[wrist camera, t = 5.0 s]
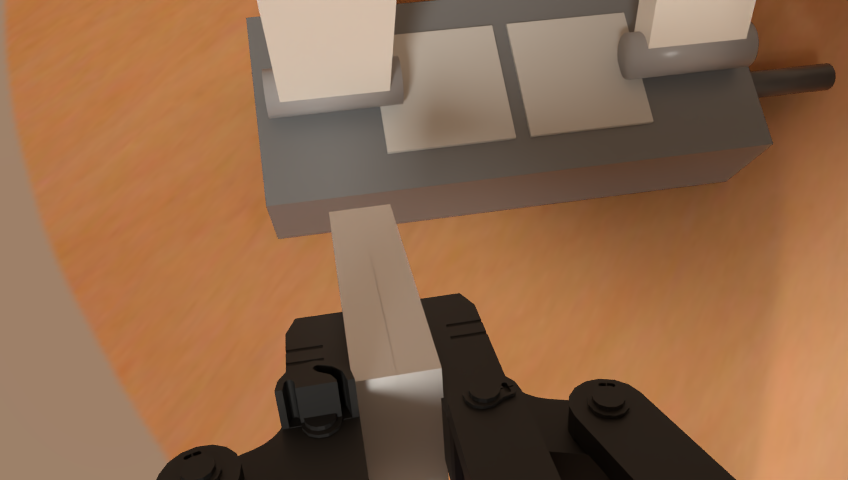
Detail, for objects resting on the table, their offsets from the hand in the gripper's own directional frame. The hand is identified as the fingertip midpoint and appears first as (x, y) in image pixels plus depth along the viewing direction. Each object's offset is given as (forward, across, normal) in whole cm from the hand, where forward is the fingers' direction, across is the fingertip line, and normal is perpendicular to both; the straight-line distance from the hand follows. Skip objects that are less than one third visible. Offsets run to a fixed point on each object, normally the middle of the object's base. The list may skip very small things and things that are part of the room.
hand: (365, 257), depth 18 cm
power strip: (+15, -10, +2) cm, 18 cm away
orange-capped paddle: (+11, 0, -1) cm, 11 cm away
